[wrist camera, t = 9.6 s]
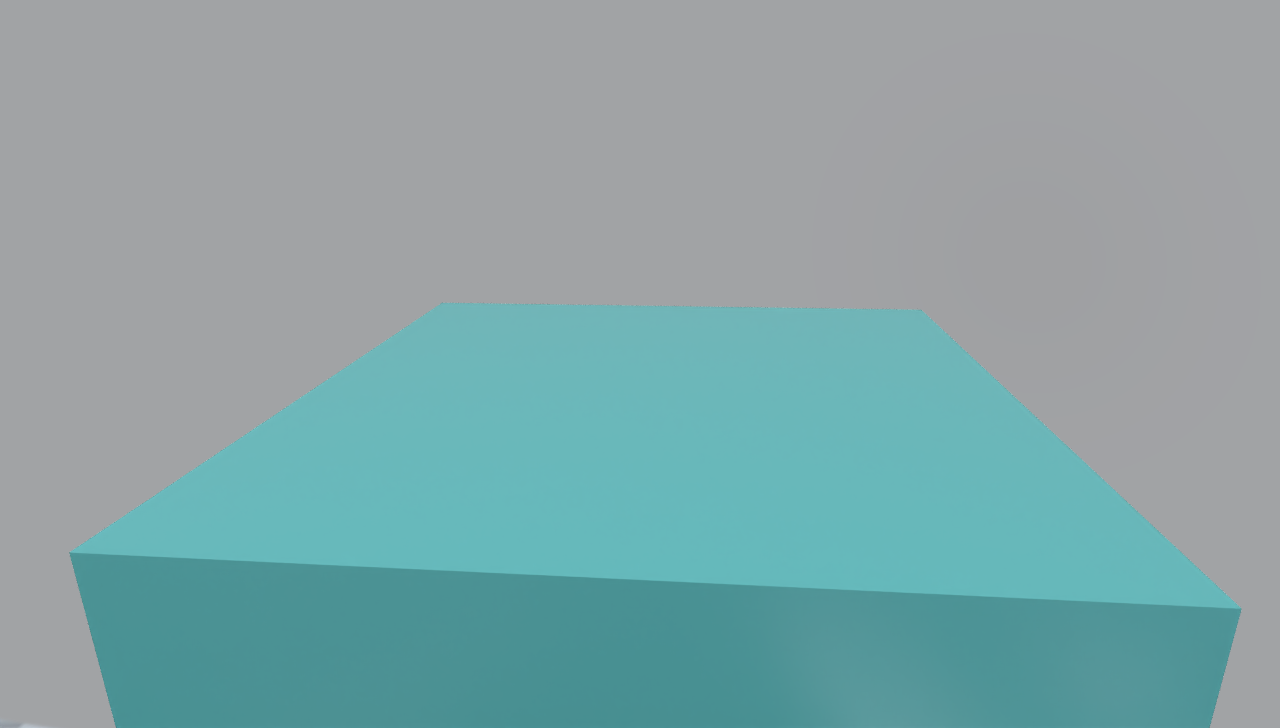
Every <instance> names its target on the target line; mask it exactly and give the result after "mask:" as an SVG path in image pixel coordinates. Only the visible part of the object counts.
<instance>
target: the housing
mask: <svg viewBox="0 0 1280 728" xmlns="http://www.w3.org/2000/svg"><path fill="white" fill-rule="evenodd" d="M70 557H71V561H72V564H73V568H74V572H75V576H76V579H77V583H78V587H79V591H80V594H81V598H82V602H83V605H84V609H85V613H86V617H87V620H88V624H89V628H90V632H91V636H92V639H93V643H94V646H95V651H96V654H97V658H98V662H99V665H100V669H101V673H102V677H103V680H104V684H105V688H106V692H107V696H108V699H109V703H110V707H111V711H112V714H113V718H114V722H115V725H116V728H1210V724H1211V720H1212V716H1213V713H1214V709H1215V705H1216V702H1217V698H1218V694H1219V691H1220V687H1221V683H1222V679H1223V676H1224V672H1225V668H1226V665H1227V661H1228V657H1229V653H1230V650H1231V646H1232V642H1233V638H1234V634H1235V631H1236V628H1237V623H1238V620H1239V616H1240V613H1241V608H1240V607H1239V606H1238V605H1237V604H1236V603H1235V602H1234V601H1233V600H1232V599H1231V598H1230V597H1228V596H1227V595H1226V594H1225V593H1224V592H1223V591H1222V590H1221V589H1220V588H1219V587H1218V586H1217V585H1216V584H1214V583H1213V582H1212V581H1211V580H1210V579H1209V578H1208V577H1207V576H1206V575H1205V574H1204V573H1203V572H1202V571H1201V570H1200V569H1198V568H1197V567H1196V566H1195V565H1194V564H1193V563H1192V562H1191V561H1190V560H1189V559H1188V558H1187V557H1186V556H1184V555H1183V554H1182V553H1181V552H1180V551H1179V550H1178V549H1177V548H1176V547H1175V546H1174V545H1173V544H1172V543H1171V542H1169V541H1168V540H1167V539H1166V538H1165V537H1164V536H1163V535H1162V534H1161V533H1160V532H1159V531H1158V530H1157V529H1156V528H1155V527H1153V526H1152V525H1151V524H1150V523H1149V522H1148V521H1147V520H1146V519H1145V518H1144V517H1143V516H1142V515H1140V514H1139V513H1138V512H1137V511H1136V510H1135V509H1134V508H1133V507H1132V506H1131V505H1130V504H1128V502H1127V501H1126V500H1124V499H1123V498H1122V497H1121V496H1120V495H1119V494H1118V493H1117V492H1116V491H1115V490H1114V489H1113V488H1112V487H1111V486H1109V485H1108V484H1107V483H1106V482H1105V481H1104V480H1103V479H1102V478H1101V477H1100V476H1099V475H1098V474H1097V473H1096V472H1094V471H1093V470H1092V469H1091V468H1090V467H1089V466H1088V465H1087V464H1086V463H1085V462H1084V461H1083V460H1082V459H1081V458H1079V457H1078V456H1077V455H1076V454H1075V453H1074V452H1073V451H1072V450H1071V449H1070V448H1069V447H1068V446H1067V445H1066V444H1064V443H1063V442H1062V441H1061V440H1060V439H1059V438H1058V437H1057V436H1056V435H1055V434H1054V433H1053V432H1052V431H1051V430H1049V429H1048V428H1047V427H1046V426H1045V425H1044V424H1043V423H1042V422H1041V421H1040V420H1039V419H1037V417H1035V416H1034V415H1033V414H1032V413H1031V412H1030V411H1029V410H1028V409H1027V408H1026V407H1025V406H1024V405H1023V404H1021V402H1019V401H1018V400H1017V399H1016V398H1015V397H1014V396H1013V395H1012V394H1011V393H1010V392H1009V391H1008V390H1007V389H1006V388H1004V387H1003V386H1002V385H1001V384H1000V383H999V382H998V381H997V380H996V379H995V378H994V377H993V376H992V375H991V374H989V373H988V372H987V371H986V370H985V369H984V368H983V367H982V366H981V365H980V364H979V363H977V362H976V361H975V360H974V359H973V358H972V357H971V356H970V355H969V354H968V353H967V352H966V351H965V350H963V349H962V347H960V346H959V345H958V344H957V343H956V342H955V341H954V340H953V339H952V338H951V337H950V336H949V335H948V334H947V333H945V332H944V331H943V330H942V329H941V328H940V327H939V326H938V325H937V324H936V323H935V322H934V321H933V320H932V319H930V318H929V317H928V316H927V315H926V314H925V313H924V312H923V311H922V310H897V309H896V310H895V309H829V308H759V307H754V308H753V307H691V306H690V307H689V306H622V305H550V304H547V305H546V304H484V303H441V304H440V305H438V306H437V307H435V308H434V309H432V310H431V311H429V312H428V313H426V314H425V315H423V316H422V317H420V318H419V319H417V320H416V321H414V322H413V323H411V324H410V325H408V326H407V327H405V328H404V329H402V330H401V331H399V332H398V333H396V334H395V335H393V336H392V337H390V338H389V339H388V340H386V341H385V342H383V343H382V344H380V345H379V346H377V347H376V348H374V349H373V350H371V351H370V352H368V353H367V354H365V355H364V356H362V357H361V358H359V359H358V360H356V361H355V362H353V363H352V364H350V365H349V366H347V367H346V368H344V369H343V370H341V371H340V372H338V373H337V374H335V375H334V376H332V377H331V378H329V379H328V380H326V381H325V382H323V383H322V384H320V385H319V386H317V387H316V388H314V389H313V390H311V391H310V392H308V393H307V394H305V395H304V396H302V397H301V398H299V399H298V400H296V401H295V402H294V403H292V404H291V405H289V406H287V407H286V408H284V409H283V410H282V411H280V412H279V413H277V414H276V415H274V416H273V417H271V418H270V419H268V420H267V421H265V422H264V423H262V424H261V425H259V426H258V427H256V428H255V429H253V430H252V431H250V432H249V433H247V434H246V435H244V436H243V437H241V438H240V439H238V440H237V441H235V442H234V443H232V444H231V445H229V446H228V447H226V448H225V449H223V450H222V451H220V452H219V453H217V454H216V455H214V456H213V457H212V458H210V459H208V460H207V461H205V462H204V463H202V464H201V465H199V466H198V467H196V468H195V469H194V470H192V471H191V472H189V473H187V474H186V475H184V476H183V477H181V478H180V479H179V480H177V481H176V482H174V483H173V484H171V485H170V486H168V487H167V488H165V489H164V490H162V491H161V492H159V493H158V494H156V495H155V496H153V497H152V498H150V499H149V500H147V501H146V502H144V503H143V504H141V505H140V506H138V507H137V508H135V509H134V510H132V511H131V512H129V513H128V514H126V515H125V516H123V517H122V518H120V519H119V520H117V521H116V522H114V523H113V524H111V525H110V526H108V527H107V528H105V529H104V530H102V531H101V532H99V533H98V534H96V535H95V536H94V537H92V538H90V539H89V540H87V541H86V542H85V543H83V544H81V545H80V546H78V547H77V548H76V549H74V550H73V551H71V552H70Z"/></svg>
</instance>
